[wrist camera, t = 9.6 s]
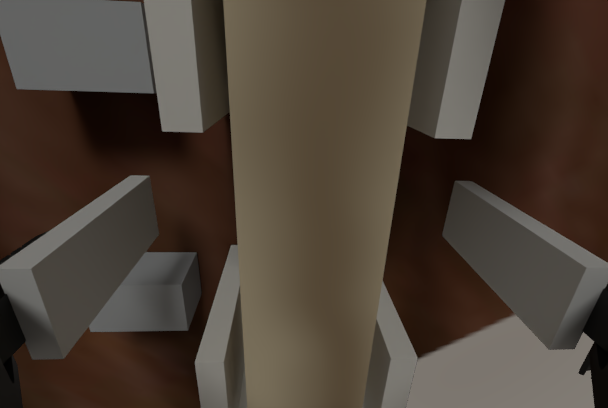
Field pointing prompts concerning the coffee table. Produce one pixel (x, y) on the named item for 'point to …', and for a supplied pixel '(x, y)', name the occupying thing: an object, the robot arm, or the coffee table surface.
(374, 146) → the rail
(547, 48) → the coffee table surface
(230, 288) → the bracket pair
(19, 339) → the robot arm
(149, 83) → the rest blocks
